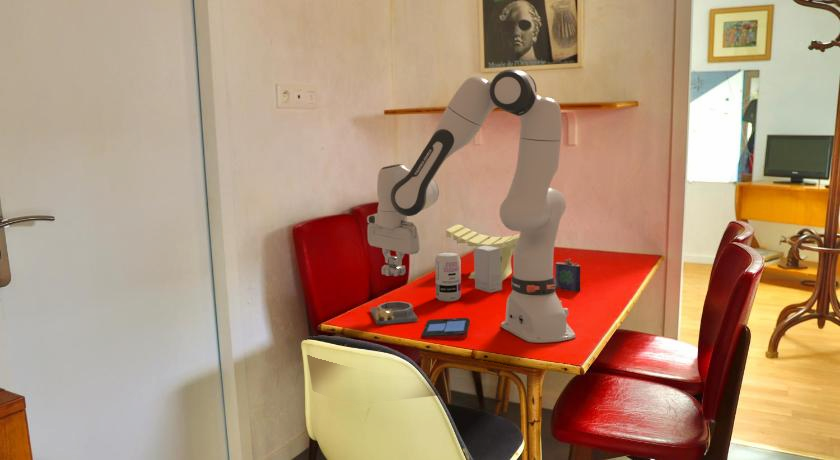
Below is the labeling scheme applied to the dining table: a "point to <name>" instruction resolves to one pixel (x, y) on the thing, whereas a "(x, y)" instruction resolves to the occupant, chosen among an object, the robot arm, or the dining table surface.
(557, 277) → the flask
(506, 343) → the dining table surface
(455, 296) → the supplement can
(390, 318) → the carrier board
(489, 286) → the skincare box
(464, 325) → the game console
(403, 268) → the planet gear
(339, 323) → the dining table surface
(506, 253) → the slatted curved stool
